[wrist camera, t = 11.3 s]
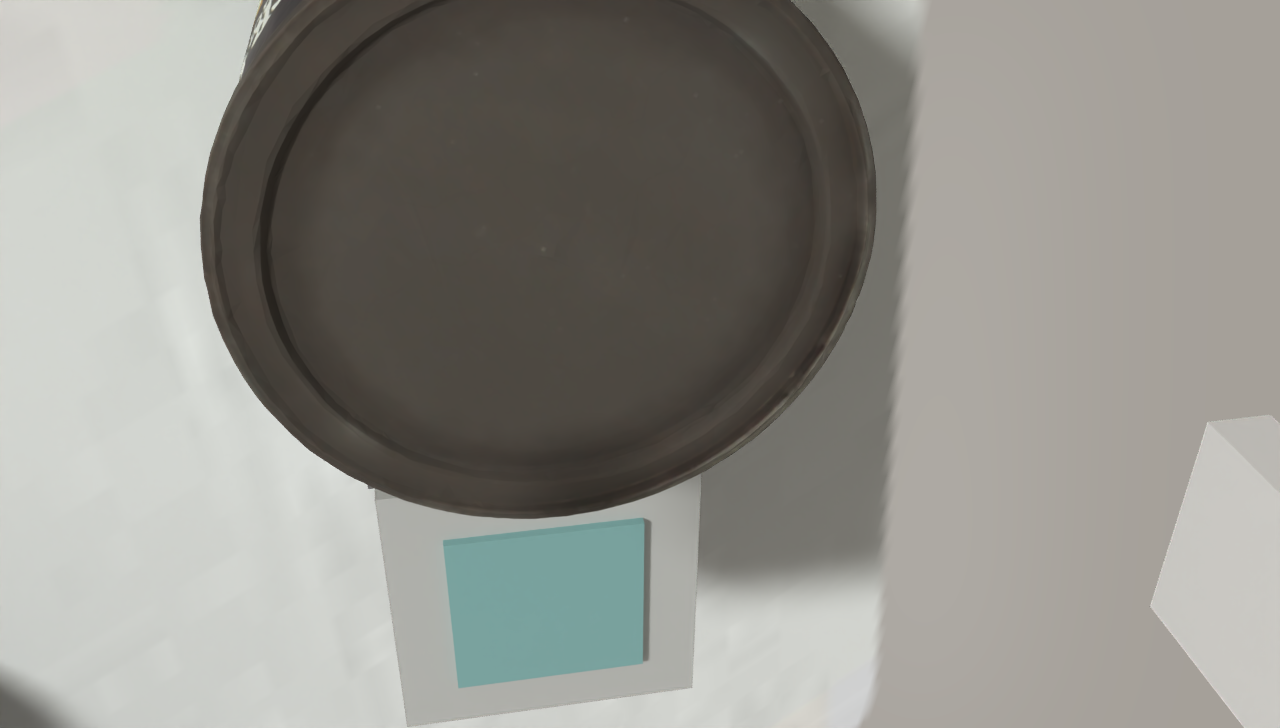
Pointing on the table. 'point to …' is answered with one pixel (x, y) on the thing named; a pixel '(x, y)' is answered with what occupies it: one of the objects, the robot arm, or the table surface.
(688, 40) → the coffee can
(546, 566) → the mounted module
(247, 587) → the table surface
